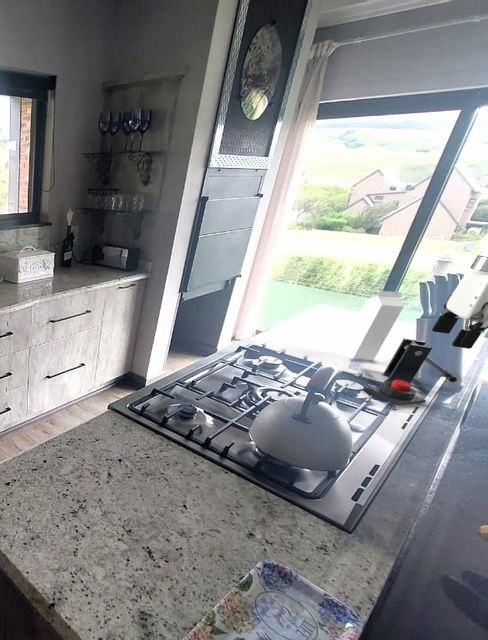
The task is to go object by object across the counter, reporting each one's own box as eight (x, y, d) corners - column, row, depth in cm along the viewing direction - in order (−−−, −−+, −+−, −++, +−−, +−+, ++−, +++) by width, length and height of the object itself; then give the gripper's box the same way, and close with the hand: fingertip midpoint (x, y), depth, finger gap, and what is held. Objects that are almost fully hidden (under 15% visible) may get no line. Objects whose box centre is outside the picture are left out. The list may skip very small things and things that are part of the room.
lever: (441, 376, 110) (452, 370, 109) (450, 384, 106) (461, 378, 105) (401, 345, 111) (411, 339, 110) (408, 352, 107) (418, 346, 106)
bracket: (411, 382, 115) (437, 341, 109) (424, 396, 108) (452, 354, 102) (364, 372, 119) (386, 333, 113) (373, 386, 112) (397, 344, 106)
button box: (388, 391, 110) (396, 378, 108) (421, 407, 103) (430, 394, 101) (362, 393, 108) (370, 381, 106) (394, 410, 102) (403, 397, 100)
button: (396, 384, 106) (400, 379, 105) (411, 391, 103) (414, 385, 102) (386, 385, 105) (390, 380, 104) (400, 392, 102) (404, 386, 101)
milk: (371, 364, 125) (410, 296, 114) (350, 362, 125) (387, 294, 114) (358, 355, 130) (394, 289, 119) (338, 354, 131) (372, 287, 120)
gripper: (548, 278, 78) (492, 357, 87) (496, 260, 92) (452, 329, 100) (496, 273, 81) (447, 350, 89) (453, 256, 95) (413, 324, 103)
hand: (449, 339), depth 95 cm, fingers open, 9 cm apart
